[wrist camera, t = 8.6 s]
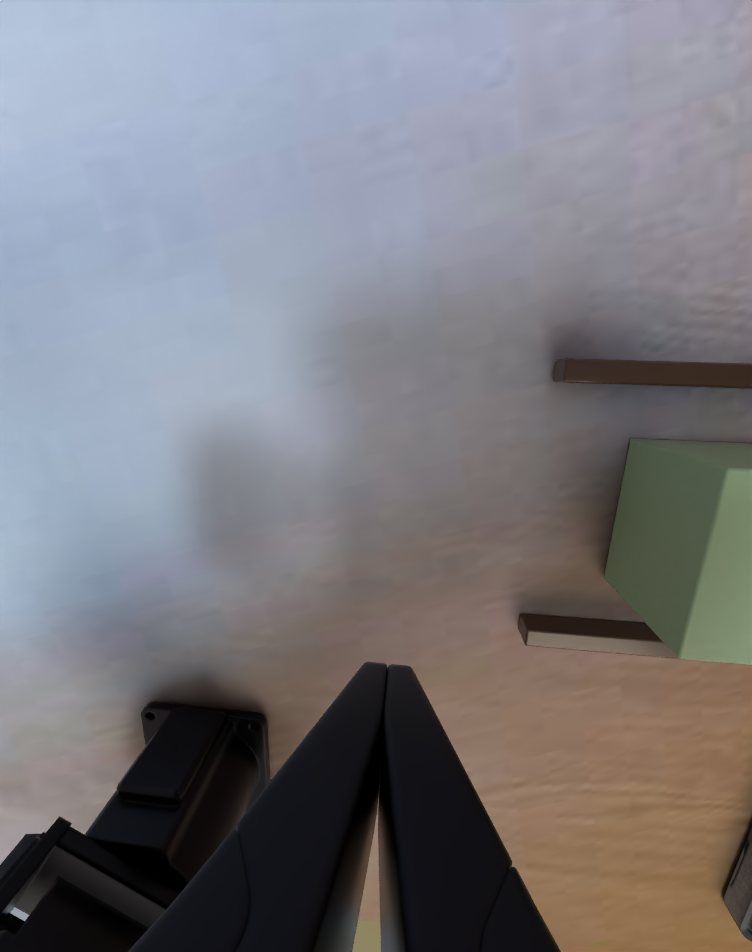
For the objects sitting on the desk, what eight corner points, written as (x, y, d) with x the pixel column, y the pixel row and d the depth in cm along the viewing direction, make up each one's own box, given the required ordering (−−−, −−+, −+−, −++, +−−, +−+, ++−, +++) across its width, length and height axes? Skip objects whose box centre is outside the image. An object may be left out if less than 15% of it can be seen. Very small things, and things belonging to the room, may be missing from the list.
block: (754, 588, 16) (896, 678, 12) (602, 577, 17) (678, 659, 12) (797, 444, 15) (981, 479, 10) (629, 437, 15) (728, 467, 11)
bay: (853, 656, 17) (886, 677, 16) (517, 628, 18) (524, 646, 17) (966, 370, 14) (1016, 370, 13) (555, 359, 15) (567, 358, 14)
